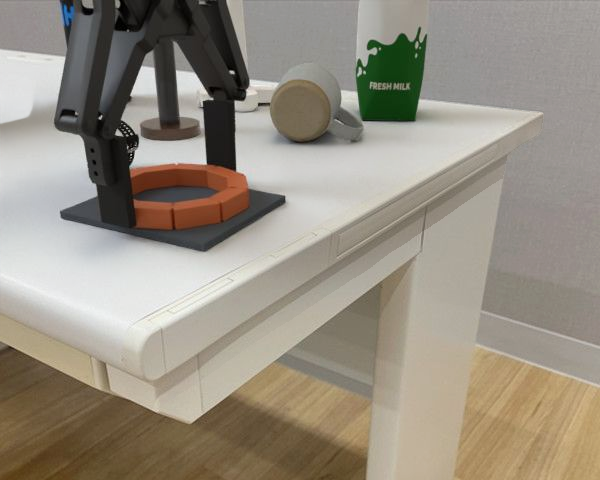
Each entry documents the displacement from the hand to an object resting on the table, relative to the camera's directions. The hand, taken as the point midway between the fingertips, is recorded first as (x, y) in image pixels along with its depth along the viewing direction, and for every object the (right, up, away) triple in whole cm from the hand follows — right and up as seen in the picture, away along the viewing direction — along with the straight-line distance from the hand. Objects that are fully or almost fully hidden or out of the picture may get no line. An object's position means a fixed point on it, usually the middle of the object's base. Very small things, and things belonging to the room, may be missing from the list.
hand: (175, 197), depth 52 cm
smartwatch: (-8, +4, +10) cm, 13 cm away
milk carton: (+22, +16, +33) cm, 43 cm away
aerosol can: (-19, +21, +41) cm, 50 cm away
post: (-5, +12, +24) cm, 27 cm away
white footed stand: (+2, +19, +38) cm, 42 cm away
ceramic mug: (+12, +11, +23) cm, 28 cm away
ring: (0, 0, 0) cm, 0 cm away
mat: (0, -1, 0) cm, 1 cm away
